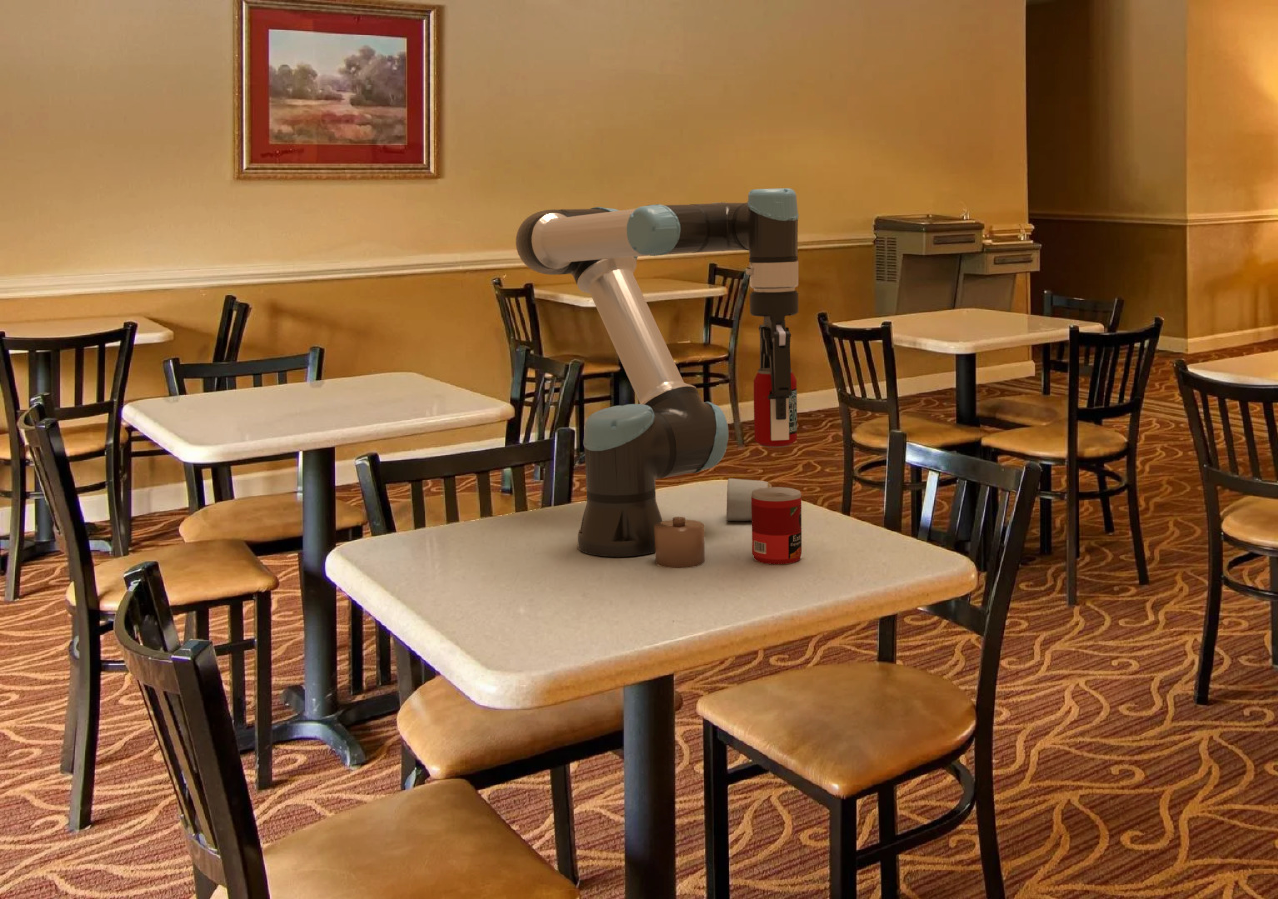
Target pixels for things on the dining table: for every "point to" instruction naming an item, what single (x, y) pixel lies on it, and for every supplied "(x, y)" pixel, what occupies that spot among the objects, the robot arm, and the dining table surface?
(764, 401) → the beverage can
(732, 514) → the ceramic mug
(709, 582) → the dining table surface
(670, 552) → the sugar bowl
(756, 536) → the canned food
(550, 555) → the dining table surface
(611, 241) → the robot arm
